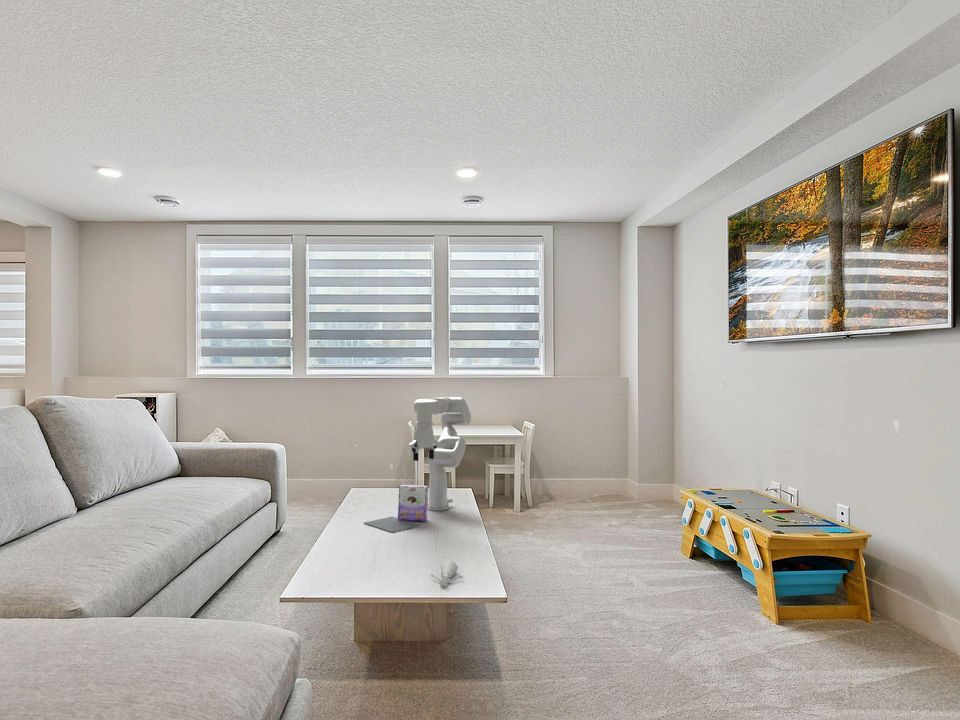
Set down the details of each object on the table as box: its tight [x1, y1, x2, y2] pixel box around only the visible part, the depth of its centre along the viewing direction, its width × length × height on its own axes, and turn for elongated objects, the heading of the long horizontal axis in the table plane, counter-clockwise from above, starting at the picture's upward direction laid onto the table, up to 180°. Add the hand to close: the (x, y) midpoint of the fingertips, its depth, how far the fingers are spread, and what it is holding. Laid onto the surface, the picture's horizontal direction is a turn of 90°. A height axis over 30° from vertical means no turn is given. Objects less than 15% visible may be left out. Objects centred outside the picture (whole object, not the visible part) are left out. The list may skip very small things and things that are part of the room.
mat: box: [363, 516, 422, 534], centre depth 279 cm, size 17×22×1 cm
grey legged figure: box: [430, 560, 464, 588], centre depth 209 cm, size 12×4×18 cm
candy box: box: [397, 484, 429, 522], centre depth 289 cm, size 14×6×16 cm, turn 84°
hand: (423, 459), depth 294 cm, fingers open, 9 cm apart
